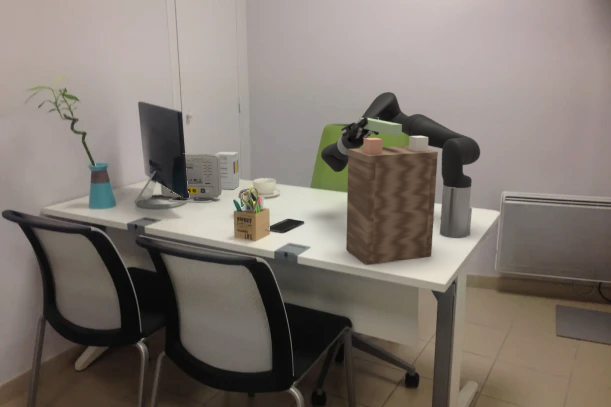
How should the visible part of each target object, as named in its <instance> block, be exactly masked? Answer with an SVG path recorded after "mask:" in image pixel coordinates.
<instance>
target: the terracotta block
mask: <svg viewBox="0 0 611 407" xmlns="http://www.w3.org/2000/svg"><path fill="white" fill-rule="evenodd" d="M383 143H384V142H383V138H378V137H367V138H364V144H363V145H362V146H363V147H362V148H363V152H364V153H368V154H381V153H382V147H383Z"/></svg>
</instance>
